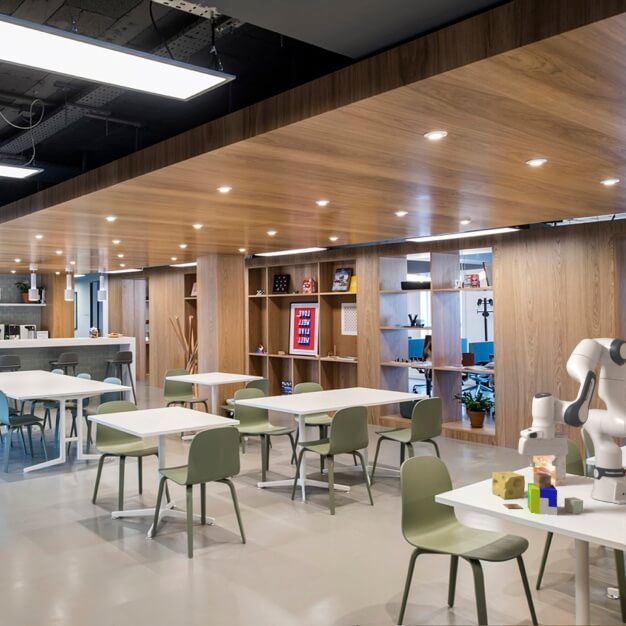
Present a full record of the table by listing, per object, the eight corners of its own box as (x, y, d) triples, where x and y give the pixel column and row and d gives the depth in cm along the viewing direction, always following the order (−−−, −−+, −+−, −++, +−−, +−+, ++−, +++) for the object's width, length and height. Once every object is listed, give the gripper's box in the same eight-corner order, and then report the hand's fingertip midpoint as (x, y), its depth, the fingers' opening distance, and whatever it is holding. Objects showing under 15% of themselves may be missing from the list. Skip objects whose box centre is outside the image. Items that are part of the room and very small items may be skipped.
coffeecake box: (532, 479, 312) (532, 440, 313) (543, 478, 315) (543, 439, 315) (554, 486, 298) (555, 445, 299) (566, 485, 301) (566, 444, 302)
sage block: (573, 509, 262) (574, 497, 262) (583, 512, 257) (583, 500, 257) (564, 510, 260) (564, 498, 260) (573, 513, 255) (573, 501, 255)
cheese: (504, 500, 274) (504, 477, 274) (490, 493, 284) (491, 471, 284) (524, 498, 277) (525, 475, 277) (510, 492, 287) (511, 470, 287)
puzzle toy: (557, 515, 252) (557, 490, 253) (530, 513, 254) (531, 488, 255) (552, 508, 262) (552, 484, 262) (527, 506, 264) (527, 482, 264)
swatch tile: (516, 504, 266) (516, 503, 266) (522, 508, 260) (522, 507, 260) (503, 504, 266) (503, 504, 266) (509, 509, 260) (509, 508, 260)
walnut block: (545, 485, 261) (545, 473, 261) (550, 488, 256) (550, 476, 256) (533, 485, 261) (533, 473, 261) (539, 488, 256) (539, 476, 256)
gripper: (563, 430, 263) (563, 463, 263) (516, 431, 261) (516, 464, 261) (571, 433, 257) (571, 467, 257) (523, 434, 255) (523, 468, 255)
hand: (543, 466), depth 259 cm, fingers open, 8 cm apart
